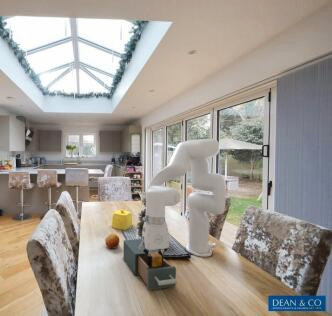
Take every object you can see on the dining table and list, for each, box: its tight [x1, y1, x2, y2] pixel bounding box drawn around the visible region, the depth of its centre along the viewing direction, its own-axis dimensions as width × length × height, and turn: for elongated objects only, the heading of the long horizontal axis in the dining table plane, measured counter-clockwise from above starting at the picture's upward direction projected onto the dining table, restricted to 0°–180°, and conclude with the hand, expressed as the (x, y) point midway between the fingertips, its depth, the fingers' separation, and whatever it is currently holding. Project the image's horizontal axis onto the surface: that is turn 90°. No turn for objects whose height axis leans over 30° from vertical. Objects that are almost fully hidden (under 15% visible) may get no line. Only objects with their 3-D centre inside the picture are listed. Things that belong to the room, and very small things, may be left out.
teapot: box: [111, 209, 133, 231], centre depth 148 cm, size 20×12×12 cm, turn 150°
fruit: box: [104, 233, 120, 249], centre depth 115 cm, size 8×8×8 cm
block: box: [151, 252, 162, 267], centre depth 84 cm, size 4×4×4 cm
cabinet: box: [123, 238, 159, 276], centre depth 96 cm, size 15×13×9 cm
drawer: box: [137, 255, 178, 291], centre depth 83 cm, size 18×11×7 cm, turn 11°
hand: (154, 263), depth 84 cm, fingers closed on block, 4 cm apart
